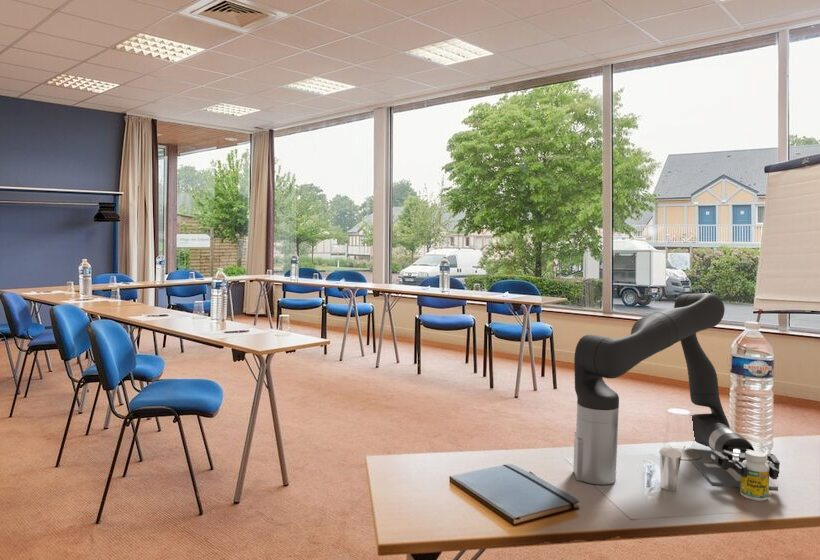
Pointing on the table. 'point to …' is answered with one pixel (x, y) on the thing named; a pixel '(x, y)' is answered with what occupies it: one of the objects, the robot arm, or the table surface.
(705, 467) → the letter board
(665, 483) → the milkshake
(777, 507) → the table surface
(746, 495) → the supplement bottle
